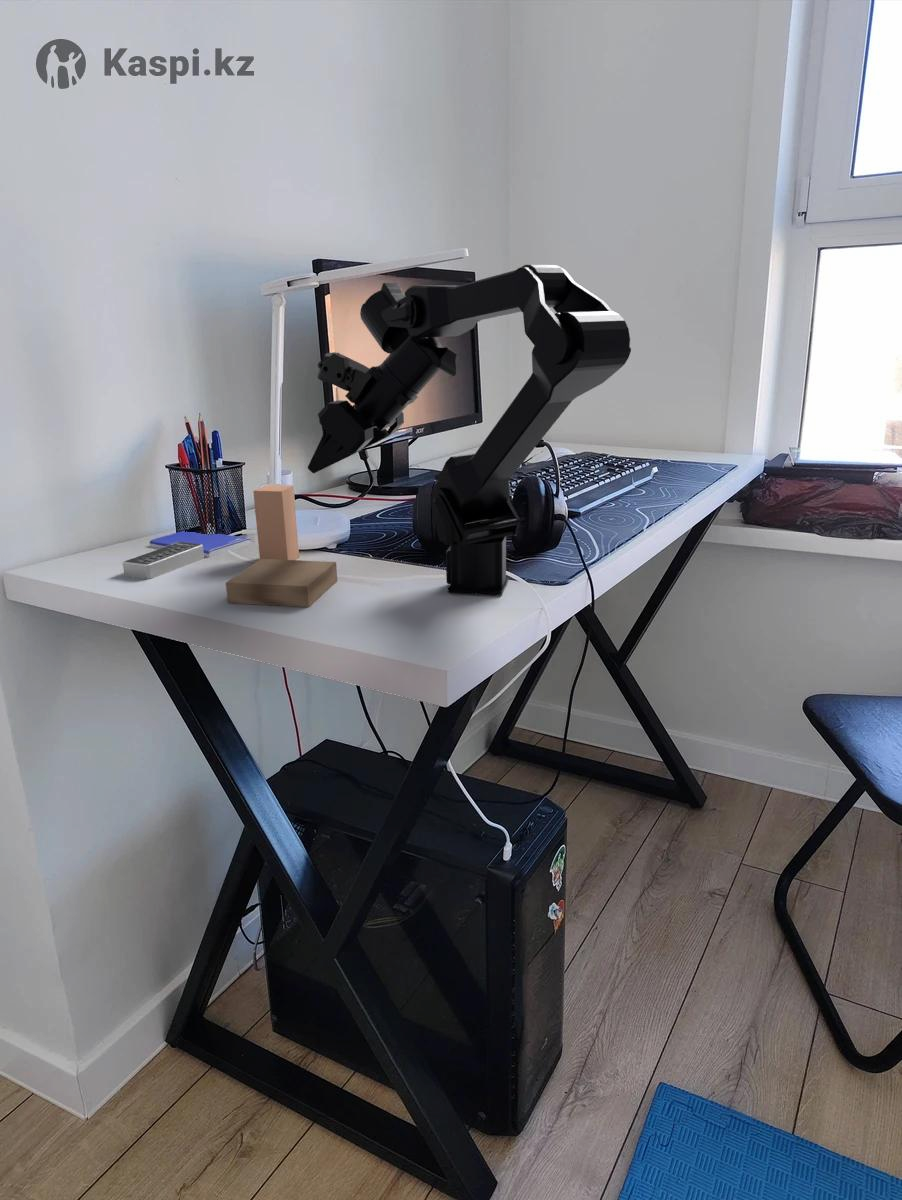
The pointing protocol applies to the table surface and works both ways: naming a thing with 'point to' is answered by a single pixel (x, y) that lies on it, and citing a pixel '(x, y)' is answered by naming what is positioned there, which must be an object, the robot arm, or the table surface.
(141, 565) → the multiport hub
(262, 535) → the block
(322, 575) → the plinth
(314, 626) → the table surface
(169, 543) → the hard drive
